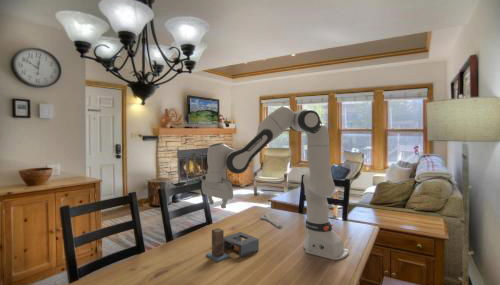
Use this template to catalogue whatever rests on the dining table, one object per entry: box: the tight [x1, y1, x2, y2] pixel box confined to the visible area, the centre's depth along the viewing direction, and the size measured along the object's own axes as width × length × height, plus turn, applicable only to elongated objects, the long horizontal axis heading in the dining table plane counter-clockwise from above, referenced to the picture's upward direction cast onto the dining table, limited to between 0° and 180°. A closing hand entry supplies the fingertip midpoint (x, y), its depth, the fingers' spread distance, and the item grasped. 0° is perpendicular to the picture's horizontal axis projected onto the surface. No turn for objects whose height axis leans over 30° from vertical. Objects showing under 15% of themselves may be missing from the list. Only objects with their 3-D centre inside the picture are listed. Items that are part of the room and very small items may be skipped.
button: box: [233, 245, 239, 252], centre depth 144 cm, size 5×5×2 cm
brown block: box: [211, 227, 225, 257], centre depth 136 cm, size 4×4×12 cm
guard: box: [224, 231, 260, 259], centre depth 144 cm, size 14×12×6 cm
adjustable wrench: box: [260, 214, 283, 229], centre depth 187 cm, size 25×6×2 cm, turn 19°
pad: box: [205, 251, 230, 263], centre depth 136 cm, size 9×7×1 cm
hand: (217, 206), depth 135 cm, fingers open, 8 cm apart
